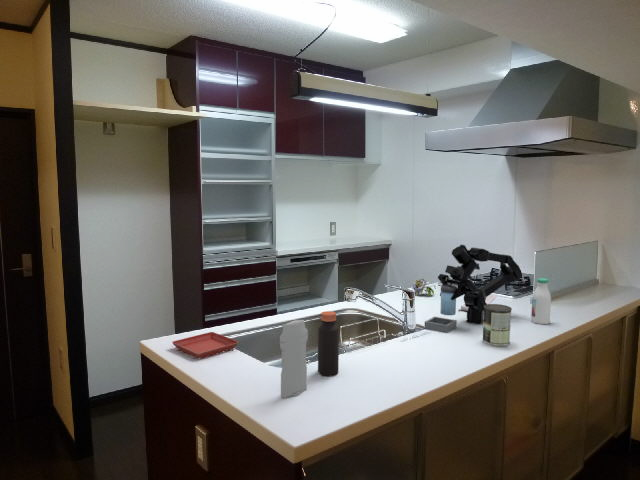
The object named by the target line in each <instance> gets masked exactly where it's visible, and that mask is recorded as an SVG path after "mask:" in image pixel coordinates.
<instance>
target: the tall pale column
mask: <svg viewBox="0 0 640 480" xmlns="http://www.w3.org/2000/svg"><path fill="white" fill-rule="evenodd" d="M308 337H309V334H308V329H307V328H306V324H305V320H304V319H299V320H298V319H296V320H292V321H289V322H287V323H284V324H283V328H282V333H281V334H280V336H279V349H281V350H280V351H281V352H280V353H281V372H280V398H281V399H288V398H291V396H292V397H297V396H299V395H301V394H302V393H304V392H306V391H307V388H308V383H307V382H308V378H307V377H308V375H307V374H308V367H307V363H306V362H307V361H306V360H307V357H306V355H307V342H308V339H309V338H308Z"/></svg>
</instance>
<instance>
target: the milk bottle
mask: <svg viewBox="0 0 640 480" xmlns="http://www.w3.org/2000/svg"><path fill="white" fill-rule="evenodd" d="M536 284H537V286H536V288H535V289H534V292H533V294H532V300H531V301H532V302H531V315H530V316H531V318H530V319H531V322H532V323H533V324H534V323H535V324H537V325H538V324H539V325H548V324H550V322H551V306H552V305H551V304H552V295H551V292H550V289H549V287H548V285H549V279H548V278H542V277H541V278H537V280H536Z"/></svg>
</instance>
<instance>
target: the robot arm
mask: <svg viewBox="0 0 640 480" xmlns="http://www.w3.org/2000/svg"><path fill="white" fill-rule="evenodd" d="M451 256H453V258H454V259H455V260H456V261H457V263H458V264H460V266H459V265H457V267H456V266H453V265H446V269H445V271H444V273H447V274H449V275H447V274H444V273H440V274H439V275H438V276H437V279H438V280H439V281H440V282H441V284H442V285H454V286H457V289H456V291H455V292H454V294H453V296H452V297H451V299H452V300H454V299H456V300H457V299H458V298H459V297H461V296H463V302H464V304H465V306H466V307H469V308H468V311H466V322H468V323H473V324H483V321H484V305H487V303H486V302H485V300H486V297H487V296H489V295H490V294H492V295H493V293H494V292H496V291H497V290H499V289H500V288H502V287H504V286H505V285H506V284H510V283H515V282H516V281H519V280H521V278H522V276H523V273H522V270H521V268H520V266H519V265H518V264H517V262H516V261H515V260H514V259H513V257H512V256H511V255H509V254H500V253H495V252H491V251H489V250H487V249H485V248H479V247H471V248H470V249H469V250H468V249H467V246H466V245H465V244H460V245H459V246H457V247H455V248H453V249H452V250H451ZM488 261H491V262H492V261H493V262H498V263H499V264H500V265H499V269H500V272H499V275H497V276H496V277H494V278H493V279H492V280H490V281H489V282H487V283H485V284H484V285H483V286H482V287H477V285H475V283H474V282H473V281H472V280H471V279H472V276H471V275H472V274H473V273H474V271H475V270H478V271H479V270H480V264H479V263H477V262H481V263H482V262H488ZM442 285H441V286H442ZM439 297H441V292H440V293H439Z"/></svg>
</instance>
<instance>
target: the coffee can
mask: <svg viewBox="0 0 640 480" xmlns="http://www.w3.org/2000/svg"><path fill="white" fill-rule="evenodd" d="M512 309H513V308H512V307H511V306H508V305H505V304H498V303H490V304H487V305H484V319H483V320H484V321H483V322H482V342H483V343H484V344H487V345H491V346H497V347H504V346H506V347H507V346H509V345H510V344H511V342H510V339H511V338H510V337H511V323H512V322H511V321H512V320H511V319H512V318H511V317H512Z"/></svg>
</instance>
